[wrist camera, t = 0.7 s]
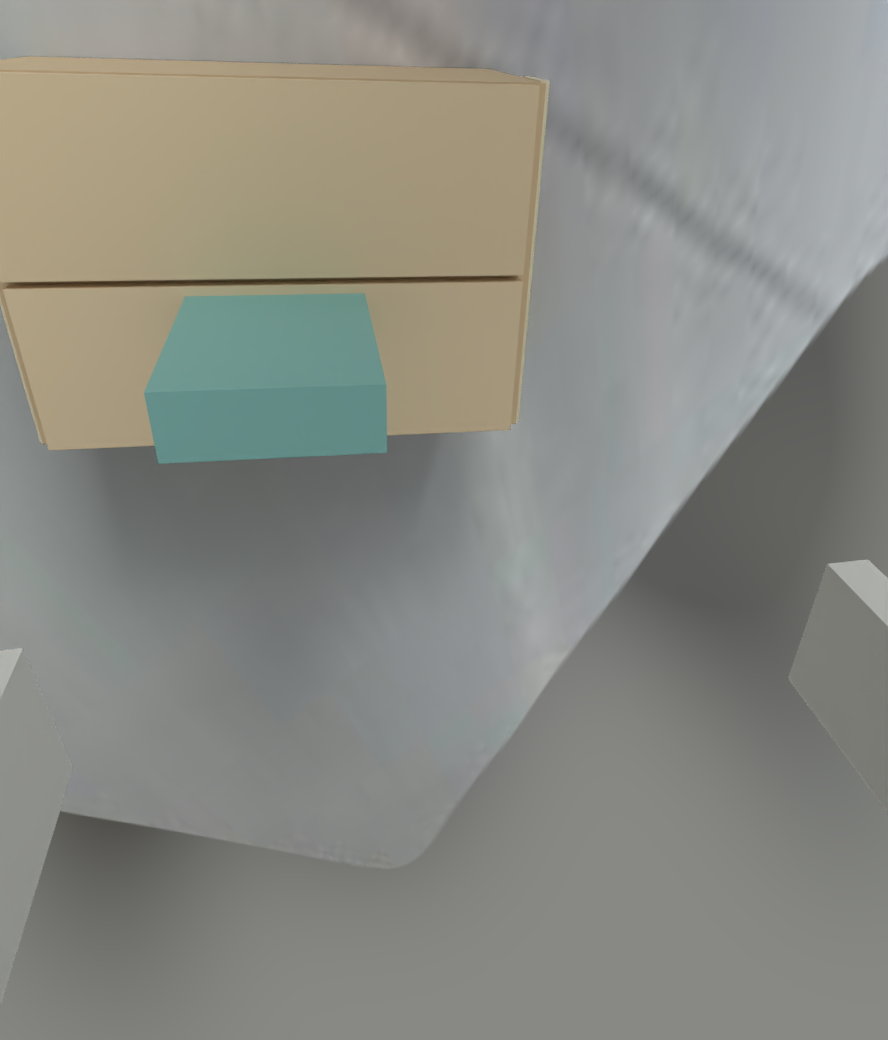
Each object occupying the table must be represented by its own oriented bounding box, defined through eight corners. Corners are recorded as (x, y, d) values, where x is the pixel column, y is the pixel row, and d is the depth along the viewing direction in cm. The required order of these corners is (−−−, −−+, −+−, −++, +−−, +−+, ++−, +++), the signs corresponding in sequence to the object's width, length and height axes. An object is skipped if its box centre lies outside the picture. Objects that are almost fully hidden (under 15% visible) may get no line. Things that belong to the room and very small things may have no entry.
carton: (21, 54, 29) (-85, 66, 21) (493, 67, 32) (558, 82, 24) (93, 357, 35) (32, 454, 27) (477, 346, 38) (524, 432, 30)
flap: (8, 284, 25) (-109, 389, 18) (518, 277, 27) (595, 366, 20) (53, 442, 28) (-32, 585, 21) (506, 423, 30) (569, 544, 23)
